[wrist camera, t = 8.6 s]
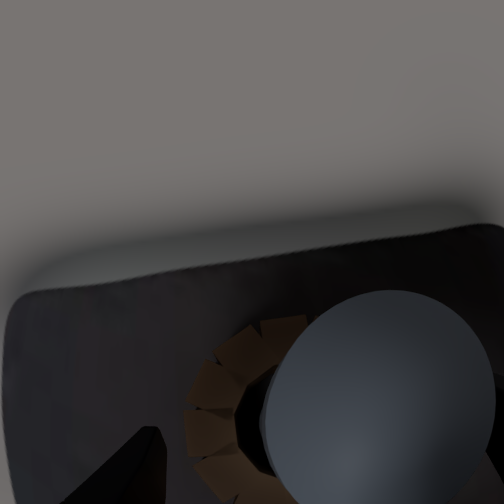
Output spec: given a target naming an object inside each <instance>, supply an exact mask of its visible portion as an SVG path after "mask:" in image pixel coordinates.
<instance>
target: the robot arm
mask: <svg viewBox="0 0 504 504" xmlns="http://www.w3.org/2000/svg"><path fill="white" fill-rule="evenodd" d="M493 378H494V384H495V397H496V406H495V418H494V423H493V428H492V433H491V436H490V439H489V442H488V445H487V448H486V450H485V451H486V453H487V455H488V456H489V458H490V460H491V461H492V463H493V465H494V467H495V469H496V470H497V472H498V474H499V476H500V478H501V480H502V481H503V483H504V376H501V375H498V374H495V373H493ZM166 469H167V448H166V444H165V442H164V439H163V437H162V434H161V432H160V430H159V428H158V427H155V426H144V427H142V428H141V429H140V430H139V431H138V432H137V433H136V434H135V435H134V436H133V437H131V438H130V439H129V440H128V441H127V442H126V443H125V444H124V445H123V446H122V447H121V448H120V449H119V450H118V451H117V452H116V453H115V454H114V455H113V456H112V457H110V458H109V459H108V460H107V461H106V462H105V463H104V464H103V465H102V466H101V467H100V468H99V469H98V470H97V471H95V472H94V473H93V474H92V475H91V476H90V477H89V478H88V479H87V480H86V481H85V482H83V483H82V484H81V485H80V486H79V487H78V488H77V489H76V490H75V491H73V492H72V493H71V494H70V495H69V496H68V497H67V498H65V500H64V501H62V502H61V503H60V504H165V499H166Z"/></svg>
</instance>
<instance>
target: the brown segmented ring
mask: <svg viewBox="0 0 504 504" xmlns="http://www.w3.org/2000/svg"><path fill="white" fill-rule="evenodd" d="M318 317H319V316H316V315H315V317H314V319H313V321H312V323H313V322H314V321H315V320H316V319H317V318H318ZM307 327H308V323H307V318H306V314H305V315H298V316H291V317H284V318H277V319H269V320H262V321H260V332H259V334H258V333H257V331H256V330H255V329H254V328H253V327H252V325H251V324H250V325H249V326H248V327H246V328H245V329H243V330H242V331H241V332H239V333H238V334H236V335H235V336H233V337H232V338H231V339H229V340H228V341H226V342H225V343H223V344H222V345H220V346H219V347H218V348H216V349H215V350H213V351H212V352H213V354H214V355H215V357H216V359H217V361H218V362H219V363H220V365H218V364H216V363H214V362H212V361H209V360H207V359H205V361H204V363H203V365H202V367H201V369H200V371H199V373H198V375H197V377H196V379H195V381H194V383H193V386H192V388H191V390H190V392H189V394H188V396H187V398H186V400H185V401H186V402H188V403H190V404H192V405H195V406H197V407H199V408H201V409H203V410H185V411H183V413H184V423H185V433H186V442H187V450H188V457H204V456H208V457H206V458H204V459H203V460H201V461H200V462H198V463H196V464H195V465H193V466H192V467H193V468H194V469H195V470H196V472H197V473H198V474H199V475H200V477H201V478H202V479H203V480H204V481H205V483H206V484H207V485H208V486H209V487H210V489H211V490H212V491H213V492H214V493H215V495H216V496H217V497H218V498H219V499H220V500H221V501H222V502H223V503H224V502H226V501H227V500H229V499H231V498H232V497H234V496H235V499H234V502H233V504H299V503H298V502H297V501H296V500H295V499H294V498H293V496H292V495H291V494H290V493H289V492H288V491H287V490H286V489H285V487H284V486H283V485H282V483H281V482H280V481H279V479H278V478H277V476H276V475H275V473H274V471H273V469H270V468H267V467H264V466H262V465H259V464H258V463H257V462H256V461H255V459H254V458H253V457H252V456H251V455H250V454H249V452H248V451H247V450H246V449H245V448H244V446H243V445H242V444H241V442H240V434H239V427H238V419H237V415H238V413H239V411H240V408H241V406H242V404H243V402H244V400H245V397H246V395H247V393H248V391H249V390H250V389H251V388H253V387H254V386H255V385H257V384H258V383H260V382H261V381H262V380H264V379H265V378H266V377H268V376H269V375H270V374H272V373H275V371H276V369H277V367H278V366H279V364H280V362H281V361H282V360H283V358H284V357H285V355H286V354H287V352H288V351H289V350H290V349H291V347H292V346H293V344H294V343H295V341H296V340H297V339H298V337H299V336H300V335H301V334H302V333H303V332H304V331H305V329H306V328H307Z"/></svg>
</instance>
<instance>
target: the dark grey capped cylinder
mask: <svg viewBox="0 0 504 504" xmlns="http://www.w3.org/2000/svg"><path fill="white" fill-rule="evenodd" d="M495 406H496V397H495V384H494V378H493V373H492V369H491V366H490V362H489V360H488V357H487V355H486V352H485V350H484V348H483V346H482V344H481V342H480V341H479V339H478V337H477V336H476V334H475V333H474V332H473V330H472V329H471V328H470V326H469V325H468V324H467V323H466V322H465V321H464V320H463V319H462V318H461V317H460V316H459V315H458V314H456V313H455V312H454V311H453V310H452V309H450V308H448V307H447V306H445V305H444V304H442V303H441V302H438V301H436V300H434V299H432V298H430V297H427V296H424V295H421V294H418V293H413V292H408V291H400V290H384V291H374V292H370V293H365V294H361V295H358V296H355V297H353V298H350V299H347V300H345V301H343V302H341V303H339V304H337V305H335V306H334V307H332V308H331V309H329V310H328V311H326V312H325V313H323V314H322V315H320V316H319V317H318V318H317V319H316V320H315V321H314V322H313V323H311V324H310V325H309V326H308V327H307V328H306V329H305V331H304V332H303V333H302V334H301V335H300V336H299V337H298V339H297V340H296V341H295V343H294V344H293V346H292V347H291V349H290V350H289V351H288V352H287V354H286V355H285V357H284V358H283V360H282V361H281V362H280V364H279V366H278V367H277V369H276V371H275V373H274V375H273V377H272V379H271V382H270V385H269V387H268V390H267V393H266V395H265V399H264V404H263V408H262V410H261V413H260V416H259V430H260V433H261V436H262V439H263V444H264V448H265V451H266V454H267V457H268V460H269V463H270V465H271V467H272V469H273V471H274V473H275V475H276V476H277V478H278V479H279V481H280V482H281V483H282V485H283V486H284V487H285V489H286V490H287V491H288V492H289V493H290V494H291V495H292V496H293V498H294V499H295V500H296V501H297V502H298V503H299V504H446V503H447V502H448V501H449V500H450V499H452V498H453V497H454V496H455V495H456V494H457V493H458V492H459V491H460V489H461V488H462V487H463V486H464V485H465V484H466V482H467V481H468V480H469V478H470V477H471V476H472V474H473V473H474V471H475V470H476V468H477V466H478V465H479V463H480V461H481V459H482V457H483V455H484V453H485V450H486V448H487V445H488V442H489V439H490V436H491V433H492V428H493V423H494V418H495Z"/></svg>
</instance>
